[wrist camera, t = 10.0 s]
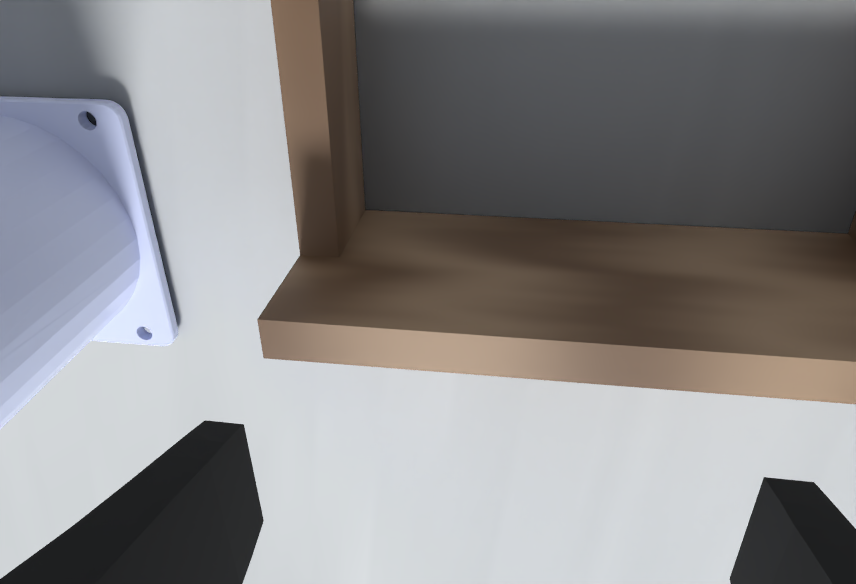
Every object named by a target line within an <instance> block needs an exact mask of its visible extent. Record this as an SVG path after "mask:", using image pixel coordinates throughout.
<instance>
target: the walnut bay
mask: <svg viewBox="0 0 856 584" xmlns="http://www.w3.org/2000/svg"><path fill="white" fill-rule="evenodd" d="M271 7H272V16H273V25H274V33H275V42H276V50H277V59H278V68H279V76H280V85H281V94H282V102H283V111H284V119H285V128H286V137H287V145H288V154H289V163H290V171H291V180H292V188H293V197H294V206H295V214H296V223H297V232H298V240H299V249H300V256H299V258H298V259H297V261H296V262H295V264H294V265H293V267H292V268H291V270H290V271H289V273H288V274H287V276H286V277H285V279H284V280H283V282H282V283H281V285H280V286H279V288H278V289H277V291H276V292H275V294H274V295H273V297H272V298H271V300H270V301H269V303H268V304H267V306H266V308H265V309H264V311H263V312H262V314H261V315H260V317H259V318H258V326H259V332H260V338H261V344H262V351H263V357H264V358H268V359H281V360H294V361H307V362H320V363H333V364H345V365H358V366H371V367H384V368H397V369H410V370H422V371H435V372H448V373H461V374H474V375H487V376H500V377H512V378H525V379H538V380H551V381H564V382H577V383H589V384H602V385H615V386H628V387H641V388H654V389H667V390H679V391H692V392H705V393H718V394H731V395H744V396H756V397H769V398H782V399H795V400H808V401H821V402H834V403H846V404H856V212H855V215H854V218H853V221H852V224H851V226H850V229H849V232H848V234H844V233H824V232H804V231H783V230H763V229H742V228H722V227H702V226H681V225H661V224H641V223H620V222H600V221H580V220H559V219H539V218H519V217H498V216H478V215H458V214H437V213H417V212H397V211H376V210H365V196H364V178H363V161H362V144H361V126H360V109H359V92H358V74H357V57H356V40H355V22H354V5H353V0H271Z"/></svg>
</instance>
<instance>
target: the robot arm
mask: <svg viewBox="0 0 856 584" xmlns="http://www.w3.org/2000/svg"><path fill="white" fill-rule="evenodd" d="M86 112H90V113H91V114H92V115H93V116H94V117H95V119H96V125H97V126H95V125H93V124H92V123H90V122H89V120H88V118H87V113H86ZM144 327H146V328H148V329H149V330H150V331H151V333H149V332H147V331H146V330H145V329H144ZM177 336H178V327H177V323H176V318H175V314H174V310H173V306H172V301H171V297H170V293H169V289H168V284H167V280H166V276H165V272H164V268H163V263H162V259H161V255H160V251H159V246H158V242H157V238H156V234H155V230H154V225H153V221H152V217H151V213H150V208H149V204H148V200H147V196H146V191H145V187H144V183H143V179H142V175H141V170H140V166H139V162H138V158H137V153H136V149H135V145H134V141H133V137H132V132H131V128H130V124H129V120H128V117H127V114H126V112H125V110H124V109H123V108H122V107H121V106H120V105H119V104H117V103H116V102H114V101H111V100H104V99H71V98H38V97H5V96H0V429H1V428H2V427H3V426H4V425H5V424H6V423H7V422H8V421H10V420H11V419H12V418H13V417H14V416H15V415H16V414H17V413H18V412H19V411H20V410H21V409H22V408H23V407H24V406H25V405H26V404H27V403H28V402H29V401H30V400H31V399H32V398H33V397H34V396H35V395H36V394H37V393H38V392H39V391H40V390H41V389H42V388H43V387H44V386H45V385H46V384H47V383H48V382H49V381H50V380H51V379H52V378H53V377H54V376H55V375H56V374H57V373H58V372H59V371H60V370H61V369H62V368H63V367H64V366H66V365H67V364H68V363H69V362H70V361H71V360H72V359H73V358H74V357H75V356H76V355H77V354H78V353H79V352H80V351H81V350H82V349H83V348H84V347H85V346H86V345H87V344H88V343H89V342H90V341H101V342H114V343H127V344H140V345H153V346H168V345H170V344H172V343H173V341H174V340H175V339H176V338H177ZM262 524H263V516H262V511H261V506H260V501H259V496H258V492H257V487H256V482H255V477H254V472H253V467H252V462H251V458H250V453H249V448H248V443H247V438H246V433H245V428H244V424H234V423H224V422H214V421H204V422H202V423H201V424H200V425H199V426H197V427H196V428H195V429H193V430H192V431H191V432H190V433H188V434H187V435H186V436H185V437H183V438H182V439H181V440H180V441H178V442H177V443H176V444H175V445H173V446H172V447H171V448H170V449H168V450H167V451H166V452H165V453H164V454H162V455H161V456H160V457H159V458H157V459H156V460H155V461H154V462H152V463H151V464H150V465H149V466H148V467H146V468H145V469H144V470H143V471H141V472H140V473H139V474H138V475H136V476H135V477H134V478H133V479H132V480H130V481H129V482H128V483H127V484H125V485H124V486H123V487H121V488H120V489H119V490H118V491H116V492H115V493H114V494H113V495H111V496H110V497H109V498H108V499H106V500H105V501H104V502H103V503H101V504H100V505H99V506H97V507H96V508H95V509H94V510H92V511H91V512H90V513H89V514H87V515H86V516H85V517H84V518H82V519H81V520H80V521H78V522H77V523H76V524H75V525H73V526H72V527H71V528H69V529H68V530H67V531H65V532H64V533H63V534H61V535H60V536H58V537H57V538H56V539H54V540H53V541H52V542H50V543H49V544H48V545H46V546H45V547H43V548H42V549H41V550H39V551H38V552H37V553H35V554H34V555H33V556H31V557H30V558H28V559H27V560H26V561H24V562H23V563H22V564H20V565H19V566H18V567H16V568H15V569H13V570H12V571H11V572H9V573H8V574H7V575H5V576H4V577H3V578H1V579H0V584H242V583H243V580H244V577H245V575H246V572H247V569H248V566H249V563H250V560H251V558H252V555H253V552H254V548H255V545H256V542H257V539H258V536H259V533H260V530H261V527H262ZM730 582H731V584H856V529H855V528H854V527H853V525H852V524H851V523H850V522H849V521H848V520H847V519H846V518H845V516H844V515H843V514H842V513H841V512H840V511H839V510H838V508H837V507H836V506H835V505H834V504H833V503H832V502H831V501H830V499H829V498H828V497H827V496H826V495H825V494H824V493H823V492H822V491H821V490H820V488H819V487H818V486H817V485H816V484H815V483H814V482H805V481H795V480H785V479H776V478H766V477H764V479H763V482H762V485H761V488H760V491H759V494H758V497H757V499H756V502H755V505H754V508H753V511H752V514H751V517H750V520H749V523H748V526H747V529H746V532H745V535H744V538H743V541H742V544H741V547H740V550H739V553H738V556H737V559H736V562H735V565H734V568H733V570H732V573H731V576H730Z"/></svg>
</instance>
